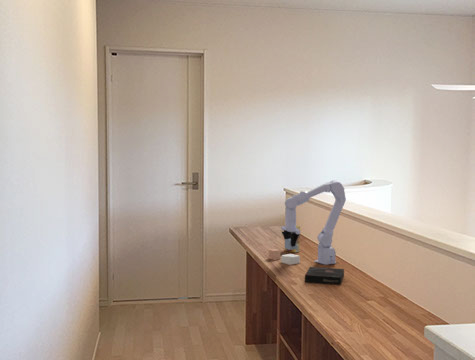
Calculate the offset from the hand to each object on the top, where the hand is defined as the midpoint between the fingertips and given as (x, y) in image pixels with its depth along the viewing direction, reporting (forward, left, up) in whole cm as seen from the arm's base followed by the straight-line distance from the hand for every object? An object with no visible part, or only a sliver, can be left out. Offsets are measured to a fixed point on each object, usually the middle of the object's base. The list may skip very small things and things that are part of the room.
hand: (290, 245), depth 301 cm
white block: (0, 0, -10) cm, 10 cm away
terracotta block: (+12, +2, -9) cm, 15 cm away
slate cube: (0, 0, -2) cm, 2 cm away
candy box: (+23, -18, -10) cm, 31 cm away
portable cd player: (-36, +6, -10) cm, 38 cm away
